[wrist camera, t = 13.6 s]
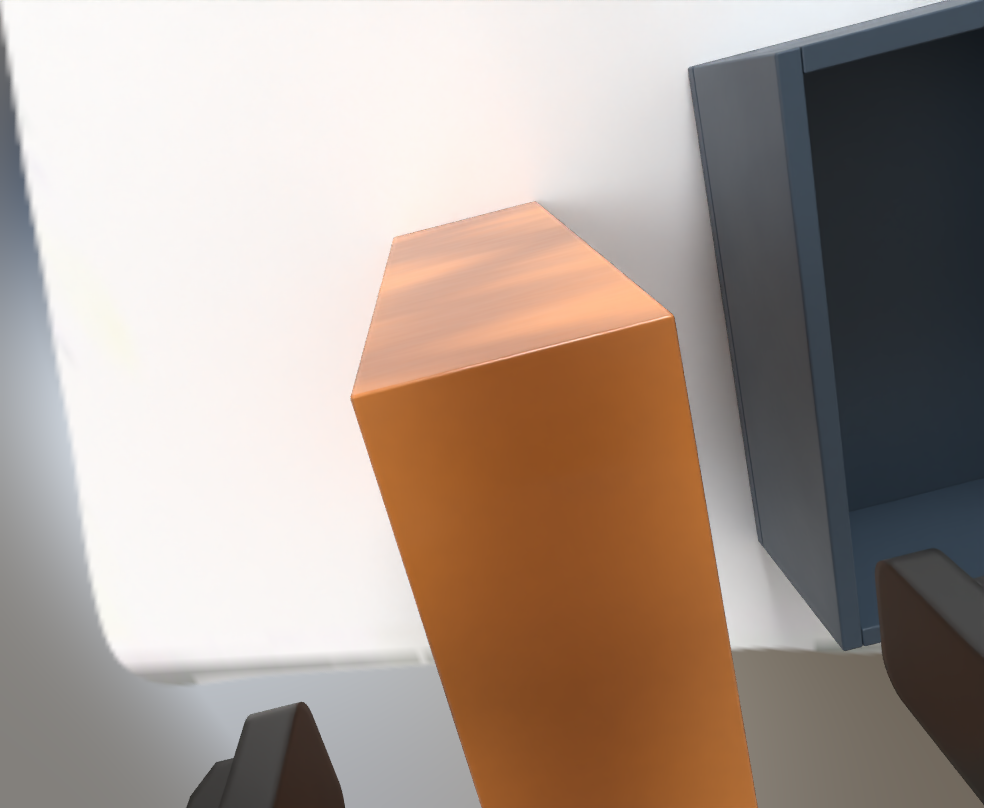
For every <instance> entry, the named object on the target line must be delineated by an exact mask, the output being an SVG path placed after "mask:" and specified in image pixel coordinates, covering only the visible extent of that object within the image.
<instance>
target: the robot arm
mask: <svg viewBox="0 0 984 808" xmlns="http://www.w3.org/2000/svg"><path fill="white" fill-rule="evenodd" d="M875 584H876V594H877V605H878V615H879V626H880V637H881V647H882V655H883V660H884V664H885V667H886V670H887V673H888V676H889V678H890V681H891V682H892V685H893V687H894V689H895V690H896V692H897V694H898V696H899V697H900V699H901V700H902V701H903V703H904V704H905V705H906V707H907V708H908V709H909V710H910V712H911V713H912V714H913V716H914V717H915V718H916V719H917V721H918V722H919V723H920V724H921V726H922V727H923V728H924V729H925V731H926V732H927V733H928V734H929V736H930V737H931V738H932V739H933V741H934V742H935V743H936V744H937V746H938V747H939V748H940V750H941V751H942V752H943V753H944V755H945V756H946V757H947V759H948V760H949V761H950V762H951V764H952V765H953V766H954V768H955V769H956V770H957V771H958V773H959V774H960V775H961V776H962V778H963V779H964V780H965V781H966V783H967V784H968V785H969V786H970V788H971V789H972V790H973V792H974V793H975V794H976V795H977V797H978V798H979V799H980V800H981V802H982V803H983V804H984V576H980V577H976V578H972V577H971V576H970V575H968V574H967V573H966V572H965V571H964V570H963V569H962V568H960V567H959V566H958V565H957V564H956V563H955V562H954V561H952V560H951V559H950V558H949V557H948V556H947V555H946V554H944V553H943V552H942V551H941V550H939V549H937V548H930V549H926V550H922V551H918V552H914V553H910V554H905V555H901V556H897V557H893V558H889V559H885V560H881V561H879V562H877V564H876V567H875ZM187 808H345V804H344V799H343V794H342V790H341V787H340V783H339V781H338V778H337V776H336V773H335V771H334V768H333V766H332V763H331V761H330V758H329V756H328V753H327V750H326V748H325V746H324V743H323V741H322V738H321V735H320V733H319V731H318V728H317V726H316V723H315V720H314V718H313V715H312V713H311V711H310V709H309V708H308V706H307V705H306V704H305V703H304V702H299V703H295V704H291V705H287V706H282V707H278V708H274V709H271V710H266V711H263V712H258V713H254V714H251V715H249V716H248V717H247V719H246V721H245V723H244V726H243V730H242V733H241V736H240V739H239V743H238V746H237V749H236V752H235V756H234V758H232V759H228V760H224V761H220V762H216V763H215V765H214V766H213V767H212V768H211V770H210V771H209V772H208V774H207V775H206V776H205V778H204V779H203V781H202V782H201V783H200V784H199V786H198V787H197V788H196V790H195V791H194V792H193V793H192V795H191V796H190V799H189V802H188V805H187Z"/></svg>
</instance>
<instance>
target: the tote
mask: <svg viewBox="0 0 984 808" xmlns="http://www.w3.org/2000/svg"><path fill="white" fill-rule="evenodd" d="M688 72H689V79H690V86H691V92H692V99H693V106H694V112H695V119H696V126H697V133H698V139H699V146H700V153H701V159H702V166H703V173H704V179H705V186H706V193H707V200H708V206H709V213H710V220H711V226H712V233H713V240H714V246H715V253H716V260H717V267H718V273H719V280H720V287H721V293H722V300H723V307H724V313H725V320H726V327H727V334H728V340H729V347H730V354H731V360H732V367H733V374H734V380H735V387H736V394H737V401H738V407H739V414H740V421H741V427H742V434H743V441H744V447H745V454H746V461H747V468H748V474H749V481H750V488H751V494H752V501H753V508H754V514H755V521H756V528H757V535H758V541H759V542H760V544H761V545H762V546H763V547H764V548H765V550H766V551H767V552H768V554H769V555H770V556H771V558H772V559H773V560H774V561H775V563H776V564H777V565H778V567H779V568H780V569H781V570H782V572H783V573H784V574H785V576H786V577H787V578H788V580H789V581H790V582H791V583H792V585H793V586H794V587H795V589H796V590H797V591H798V593H799V594H800V595H801V596H802V598H803V599H804V600H805V602H806V603H807V604H808V605H809V607H810V608H811V609H812V611H813V612H814V613H815V615H816V616H817V617H818V618H819V620H820V621H821V622H822V624H823V625H824V626H825V627H826V629H827V630H828V631H829V633H830V634H831V635H832V637H833V638H834V639H835V640H836V642H837V643H838V644H839V646H840V647H841V648H842V649H843V650H844V651H847V650H851V649H855V648H859V647H862V646H863V645H864V646H868V645H872V644H876V643H880V642H881V637H880V626H879V615H878V605H877V594H876V584H875V567H876V564H877V562H879V561H881V560H885V559H889V558H893V557H897V556H901V555H905V554H910V553H914V552H918V551H922V550H926V549H930V548H937V549H939V550H941V551H942V552H943V553H944V554H946V555H947V556H948V557H949V558H950V559H951V560H952V561H954V562H955V563H956V564H957V565H958V566H959V567H960V568H962V569H963V570H964V571H965V572H966V573H967V574H968V575H970V576H971V577H972V578H976V577H980V576H984V0H946V1H943V2H939V3H935V4H931V5H927V6H923V7H919V8H916V9H912V10H908V11H904V12H900V13H896V14H892V15H889V16H885V17H881V18H877V19H873V20H869V21H865V22H862V23H858V24H854V25H850V26H846V27H842V28H838V29H835V30H831V31H827V32H823V33H819V34H815V35H811V36H808V37H804V38H800V39H796V40H792V41H788V42H784V43H781V44H777V45H773V46H769V47H765V48H761V49H757V50H754V51H750V52H746V53H742V54H738V55H734V56H730V57H727V58H723V59H719V60H715V61H711V62H707V63H703V64H700V65H696V66H692V67H689V68H688Z"/></svg>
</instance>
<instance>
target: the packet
mask: <svg viewBox="0 0 984 808" xmlns="http://www.w3.org/2000/svg"><path fill="white" fill-rule="evenodd" d="M351 402H352V405H353V408H354V411H355V415H356V418H357V421H358V424H359V427H360V430H361V433H362V436H363V439H364V443H365V446H366V449H367V452H368V455H369V458H370V461H371V464H372V467H373V471H374V474H375V477H376V480H377V483H378V486H379V489H380V492H381V496H382V499H383V502H384V505H385V508H386V511H387V514H388V517H389V520H390V524H391V527H392V530H393V533H394V536H395V539H396V542H397V545H398V548H399V552H400V555H401V558H402V561H403V564H404V567H405V570H406V573H407V576H408V580H409V583H410V586H411V589H412V592H413V595H414V598H415V601H416V604H417V608H418V611H419V614H420V617H421V620H422V623H423V626H424V629H425V632H426V636H427V639H428V642H429V645H430V648H431V651H432V654H433V657H434V660H435V664H436V667H437V670H438V673H439V676H440V679H441V682H442V685H443V688H444V692H445V694H446V698H447V701H448V704H449V707H450V710H451V713H452V716H453V720H454V723H455V726H456V729H457V732H458V735H459V738H460V741H461V744H462V747H463V751H464V754H465V757H466V760H467V763H468V766H469V769H470V773H471V775H472V779H473V782H474V785H475V788H476V791H477V794H478V797H479V801H480V804H481V807H482V808H758V806H757V800H756V794H755V788H754V782H753V776H752V771H751V765H750V759H749V753H748V747H747V741H746V736H745V729H744V723H743V717H742V712H741V706H740V700H739V695H738V688H737V682H736V676H735V670H734V665H733V659H732V653H731V647H730V641H729V635H728V629H727V623H726V618H725V612H724V606H723V600H722V594H721V588H720V582H719V576H718V570H717V565H716V559H715V553H714V547H713V541H712V535H711V529H710V523H709V518H708V512H707V506H706V500H705V494H704V488H703V482H702V476H701V470H700V465H699V459H698V453H697V447H696V441H695V435H694V429H693V423H692V418H691V412H690V406H689V400H688V394H687V388H686V382H685V376H684V371H683V365H682V359H681V353H680V347H679V341H678V335H677V329H676V323H675V318H674V316H673V314H672V313H670V312H669V311H668V310H667V309H666V308H664V307H663V306H662V305H661V304H660V303H658V302H657V301H656V300H655V299H654V298H652V297H651V296H650V295H649V294H647V293H646V292H645V291H644V290H643V289H641V288H640V287H639V286H638V285H637V284H635V283H634V282H633V281H632V280H631V279H629V278H628V277H627V276H626V275H624V274H623V273H622V272H621V271H620V270H618V269H617V268H616V267H615V266H614V265H612V264H611V263H610V262H609V261H608V260H606V259H605V258H604V257H603V256H601V255H600V254H599V253H598V252H597V251H595V250H594V249H593V248H592V247H591V246H589V245H588V244H587V243H586V242H585V241H583V240H582V239H581V238H580V237H578V236H577V235H576V234H575V233H574V232H572V231H571V230H570V229H569V228H568V227H566V226H565V225H564V224H563V223H562V222H560V221H559V220H558V219H557V218H555V217H554V216H553V215H552V214H551V213H549V212H548V211H547V210H546V209H545V208H543V207H542V206H541V205H540V204H539V203H537V202H536V201H534V202H530V203H526V204H522V205H519V206H515V207H511V208H507V209H503V210H499V211H495V212H491V213H487V214H483V215H480V216H476V217H472V218H468V219H464V220H460V221H456V222H452V223H448V224H445V225H441V226H437V227H433V228H429V229H425V230H421V231H417V232H413V233H410V234H406V235H402V236H398V237H394V238H393V242H392V246H391V249H390V253H389V257H388V260H387V264H386V268H385V272H384V275H383V279H382V283H381V286H380V290H379V294H378V298H377V301H376V305H375V309H374V312H373V316H372V320H371V324H370V327H369V331H368V335H367V338H366V342H365V346H364V350H363V353H362V357H361V361H360V364H359V368H358V372H357V376H356V379H355V383H354V387H353V390H352V394H351Z"/></svg>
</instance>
